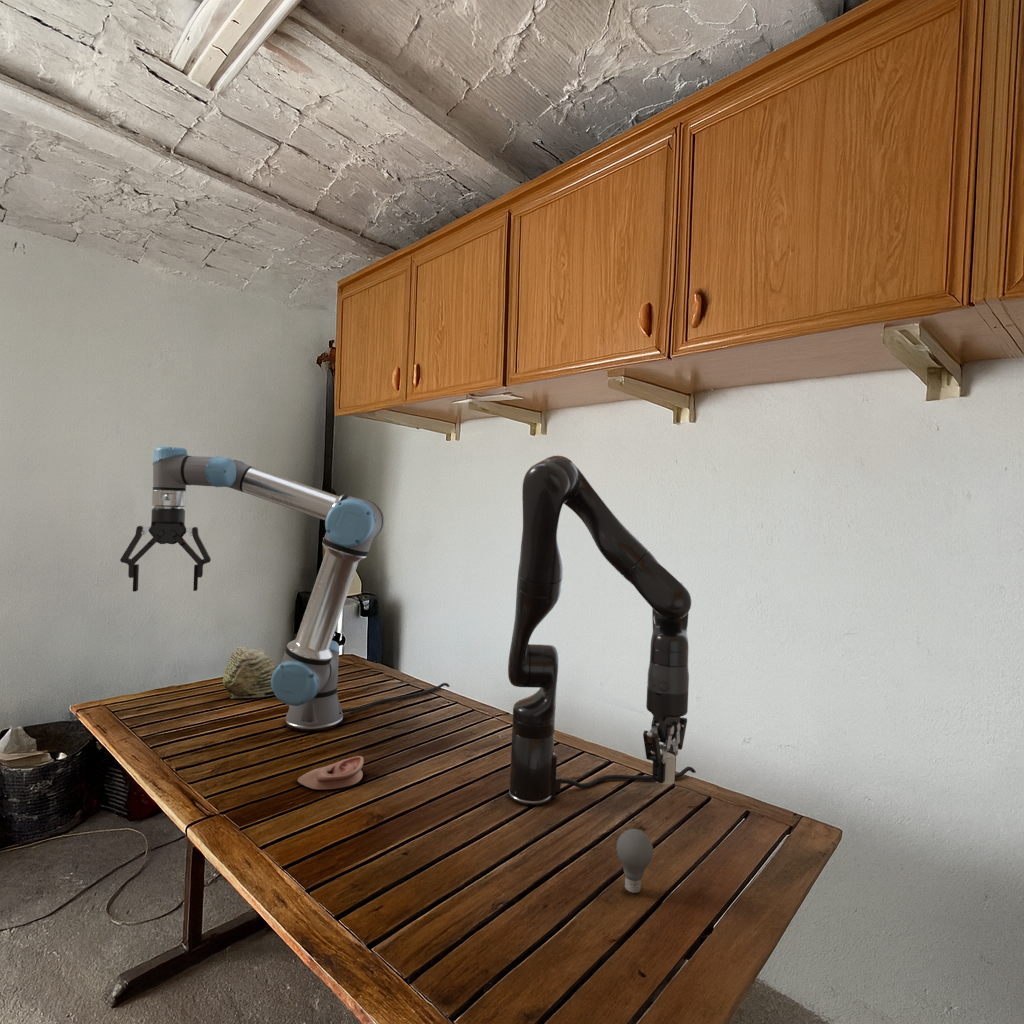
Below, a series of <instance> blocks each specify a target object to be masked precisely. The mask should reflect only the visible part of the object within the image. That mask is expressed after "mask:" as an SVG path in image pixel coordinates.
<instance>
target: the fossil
mask: <svg viewBox="0 0 1024 1024" xmlns="http://www.w3.org/2000/svg"><path fill="white" fill-rule="evenodd" d="M276 668H277V665H276V663H275V662H274V660H273V659H272V658H271V657H270V656H269V655H268V654H267V653H266V652H265V650H264V649H263V648H260V647H258V648H251V647H247V646H246V647H245V646H238V647H237V648H236V649H235V650H233V651H232V653H231V656H230V657H229V659H228V660H227V663H226V666H225V668H224V671H223V675H222V676H223V677H222V685H223V687H224V688H225V690H226V691H228V693H229V698H230V699H250V698H264V697H271V696H275V694H274V692H273V691H272V688H271V677H272V674H273V672H274V671H275V669H276Z"/></svg>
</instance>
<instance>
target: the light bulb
mask: <svg viewBox="0 0 1024 1024" xmlns="http://www.w3.org/2000/svg"><path fill="white" fill-rule="evenodd" d="M615 849H616V854H617V857H618V859H619V861H620V863H621V865H622V867H623V873H624V874H623V875H624V876H625V878H624V888H625V890H627V891H628V892H630V893H634V894H635V893H639V892H640V891H641V889H642V887H641V886H642V879H643V877H644V875H645V871H646V868H647V867H648V866H649V864H650V863H651V861H652V859H653V855H654V847H653V843H652V841H651V838H649V836H648V835H647V834H646V833H645V832H643V831H642V830H641V829H636V828H629V829H627V830H625V831H623V832H622V833H621V834H620V835H619V837H618V839H617V841H616V847H615Z"/></svg>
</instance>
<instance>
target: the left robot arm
mask: <svg viewBox="0 0 1024 1024" xmlns="http://www.w3.org/2000/svg"><path fill="white" fill-rule="evenodd" d="M153 452H154V453H153V461H152V490H151V491H152V492H151V493H152V494H151V505H152V506H153V508H152V509H151V516H150V517H151V519H150V520H151V522H150V526H144V525H138V526H136V528H135V535H134V536H133V538H132V539H131V541H130V543H129V545H128V546H127V548H125V551H124V553H123V554H122V556H121V558H120V559H119V561H120V563H122V564H127V565H128V571H127V572H128V573H127V576H128V578H129V579H132V592H134V593H135V592H137V591H139V576H140V575H139V574H140V573H139V572H140V570H139V569H140V568H139V567H140V564H136V563H137V562H138V561H139V560H140V559H141V558H142V557H143V556H144V555H145V554H146V553H147V552H149V550H150V549H151V548H153V546H154V545H155V544H159V545H168V544H169V545H175V544H176V545H177V544H178V545H179V546H180V547H181V548H182V549H183V550H184V551H185V552H186V553H187V554H188V555H189V556H190V558H191V559H192V560H193V561H194V562H195V563H196V564H194V565H193V586H192V587H193V590H192V591H193V592H196V591H198V587H199V585H198V584H199V578H202V577H203V574H204V565H206V564H209V563H210V562H211V561H212V559H211V557H210V555H209V552H208V551H207V549H206V547H205V545H204V543H203V541H202V539H201V537H200V535H199V527H198V526H193V527H186V510H185V508H184V507H186V500H187V499H186V498H187V491H186V490H187V486H199V487H200V486H201V487H215V488H230V489H232V490H235V491H238V492H241V493H245V494H248V495H250V496H254V497H256V498H259V499H262V500H264V501H268V502H271V503H274V504H277V505H279V506H283V507H285V508H288V509H291V510H293V511H296V512H299V513H302V514H304V515H308V516H310V517H314V518H317V519H320V520H323V521H324V526H325V534H324V537H323V539H322V543H321V544H322V546H323V548H324V550H325V553H324V556H323V559H322V562H321V565H320V568H319V570H318V574H317V576H316V579H315V582H314V585H313V588H312V590H311V593H310V596H309V599H308V603H307V605H306V609H305V611H304V613H303V616H302V620H301V622H300V626H299V629H298V632H297V635H296V637H295V639H293V640H291V641H289V642H288V643H287V645H286V648H285V651H284V653H283V656H282V659H281V661H280V664H278V665H276V669H275V671H274V672H273V674H272V677H271V688H272V691H273V692H274V694H275V695H274V696H275V697H276V698H277V700H279V701H280V702H281V703H283V704H284V705H287V706H288V711H287V713H286V715H285V726H286V728H287V729H289V730H291V731H294V732H295V731H296V732H301V733H316V732H325V731H329V730H332V729H335V728H337V727H339V726H340V725H342V723H343V722H344V714H343V713H348V712H356V711H360V710H364V709H368V708H370V707H373V706H376V705H378V704H383V703H388V702H393V701H399V700H400V701H401V700H403V699H409V698H413V697H417V696H423V695H425V694H428V693H431V692H434V691H437V690H439V689H441V688H442V687H446V688H450V687H451V685H450V684H449V683H447V682H443V683H441V684H439V685H437V686H435V687H432V688H429V689H426V690H423V691H419V692H415V693H411V694H405V695H400V696H395V697H389V698H388V697H387V698H384V699H379V700H375V701H372V702H370V703H367V704H364V705H361V706H357V707H348V708H342V706H341V702H340V699H339V695H338V682H339V662H340V661H339V660H340V659H339V657H340V645H339V643H338V642H337V641H335V640H333V638H334V634H335V632H336V628H337V626H338V623H339V620H340V617H341V615H342V612H343V609H344V606H345V603H346V600H347V597H348V594H349V591H350V589H351V586H352V582H353V579H354V576H355V574H356V571H357V567H358V565H359V562H360V561H362V560H364V559H366V558H367V557H368V554H369V551H370V548H371V545H372V542H373V540H374V539H375V538H377V537H378V536H379V535H380V534H381V533H382V531H383V528H384V525H385V516H384V512H383V511H382V509H381V507H380V506H379V505H378V504H377V503H376V502H375V501H371V500H370V499H365V498H358V497H354V496H351V495H348V494H345V493H344V494H341V495H336V494H333V493H330V492H328V491H325V490H322V489H319V488H316V487H313V486H310V485H307V484H304V483H301V482H299V481H296V480H292V479H290V478H287V477H284V476H281V475H278V474H275V473H272V472H269V471H267V470H264V469H260V468H258V467H255V466H252V465H249V464H247V463H246V462H243V461H241V460H238V459H232V458H230V457H224V456H198V455H196V456H195V455H194V456H193V455H189V454H188V450H187V449H186V448H184V447H176V446H157V447H156V448H155V449H154V451H153ZM147 532H149V534H150V536H151V537H152V538H151V539H149V541H148V542H147V543H146V544H145V545H144V546H143V547H142V548H141V549H140V550H139V551H138V552H137V553H136V554H135V555H134V556H133V557H132V558H130V557H131V555H132V554H133V552H134V551H135V549H136V547H137V545H138V543H139V542H140V540H141V538H142V537H143V536H144V535H146V534H147ZM186 533H188V535H189V536H190V537H192V538H193V540H194V543H195V544H196V546H197V548H198V550H199V552H200V554H201V556H202V558H201V557H200V556H199V555H198V553H197V552H196V551H195V550H194V549H193V548H192V547H191V546H190V545H189V544H188V542H187V541H186V540H185V539H184V537H185V535H186Z"/></svg>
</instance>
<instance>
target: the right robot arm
mask: <svg viewBox="0 0 1024 1024" xmlns="http://www.w3.org/2000/svg"><path fill="white" fill-rule="evenodd" d="M521 489H522V490H521V491H522V492H521V493H522V495H521V496H522V498H521V499H522V533H521V542H520V554H519V563H518V569H517V572H518V573H517V580H516V581H517V582H516V594H515V595H516V598H515V612H514V623H513V629H512V635H511V641H510V648H509V655H508V662H507V676H508V681H509V682H510V685H512V686H513V687H516V688H539V689H538V690H537V691H535V693H533V694H531V695H529V696H527V697H524V698H521V699H519V700H517V701H516V702H515V703H514V704H513V708H512V726H511V747H510V748H511V751H510V773H509V786H508V787H509V788H508V797H509V798H510V799H511V800H512V801H513V802H515V803H518V804H520V805H525V806H541V805H545V804H547V803H549V802H550V801H551V800H555V799H556V793H559V792H561V787H562V784H567V785H572V786H574V787H576V788H580V789H585V788H591V787H593V786H594V785H596V784H598V783H600V782H603V781H608V780H630V781H653V782H655V783H657V782H658V783H657V784H659V783H663V782H664V781H665V766H666V763H665V761H666V754H667V752H669V753H672V754H673V755H675V772H677V771H676V770H677V769H676V767H677V756H678V755H679V750H681V751H682V749H683V746H684V741H685V735H686V730H687V725H688V718H687V717H684V716H686V715H687V713H688V710H689V689H690V688H689V687H690V683H689V682H690V672H689V654H690V653H689V652H690V642H689V641H690V639H689V635H688V628H689V614H690V611H691V609H692V604H693V598H692V595H691V592H690V590H689V588H688V587H687V585H686V584H685V583H684V582H682V581H681V580H679V579H677V578H676V577H675V576H674V575H673V574H671V572H670V571H668V569H666V567H664V566H663V565H662V564H661V563H660V561H659V560H658V559H657V557H656V556H655V555H654V553H653V552H651V550H649V549H648V548H647V546H646V545H644V544H643V543H642V542H641V541H640V540H639V539H638V538H637V537H636V536H635V535H634V534H633V533H632V532H631V531H630V530H629V529H628V528H627V527H626V526H625V525H624V524H623V523H622V521H621V520H620V519H619V518H618V517H617V516H616V515H615V514H614V513H613V511H612V510H611V509H610V508H609V507H608V505H607V504H606V503H605V502H604V500H603V499H602V498H601V496H600V495H599V494H598V492H597V491H596V490H595V488H593V486H592V485H591V484H590V482H589V481H588V479H587V478H586V477H585V475H584V474H583V472H582V471H581V470H580V468H579V467H578V466H577V465H576V464H575V463H574V462H573V461H572V460H571V459H569V458H568V457H566V456H563V455H551V456H549V457H546V458H544V459H543V460H541V461H539V462H537V463H535V464H533V465H531V466H530V468H529V469H527V471H526V473H525V474H524V477H523V481H522V488H521ZM563 505H565V506H566V507H567V508H568V509H570V510H571V511H572V512H573V513H574V514H575V515H576V516H577V517H578V518H579V519H580V521H582V523H583V525H584V526H585V527H586V529H587V531H588V532H589V534H590V535H591V536H590V537H591V538H592V540H593V542H594V544H595V546H596V548H597V549H598V551H599V552H600V553H601V555H602V557H603V558H604V559H605V560H606V562H608V563H609V564H610V565H611V566H612V567H613V568H614V570H616V571H617V572H618V574H620V576H622V578H624V579H625V581H627V582H628V583H629V584H630V585H632V586H633V587H634V588H635V590H636V591H637V592H638V593H639V594H640V596H641V597H642V598H643V599H644V600H645V602H647V604H648V605H649V606H650V608H651V611H652V614H651V615H652V617H651V618H652V631H651V636H650V644H649V663H648V669H647V681H646V683H647V684H646V707H645V708H646V710H647V711H648V712H649V713H650V714H651V715H652V720H651V728H650V729H649V730H644V731H643V733H642V737H643V744H644V752H645V758H646V760H648V761H652V775H633V774H606V775H601V776H599V777H597V778H595V779H593V780H591V781H589V782H584V783H581V782H578V781H576V780H573V779H568V778H561V777H560V776H558V774H557V765H558V755H557V754H556V753H555V752H554V749H555V747H554V746H555V729H556V728H555V727H556V726H555V725H556V724H555V723H556V709H557V708H556V707H557V694H558V692H557V691H558V683H559V682H558V681H559V672H560V671H559V670H560V654H559V651H558V649H557V646H556V645H554V644H548V643H529V642H530V640H531V637H532V636H533V634H534V632H535V630H536V629H537V628H538V627H539V625H540V624H541V623H542V622H543V621H544V620H545V619H546V618H547V617H548V616H549V614H550V613H551V612H552V611H553V609H554V608H555V607H556V606H557V604H558V602H559V601H560V599H561V595H562V589H563V581H564V570H565V569H564V559H563V556H562V553H561V549H560V546H559V541H558V530H559V522H560V517H561V512H562V508H563ZM661 752H662V753H661ZM687 772H691V773H692V774H695V773H697V771H696V770H695V769H694V768H693V767H692V766H686V767H685V768H683V769H682V770H681V771H679V772H677V773H675V779H679V778H681V777H683V776H684V775H685V774H686V773H687Z"/></svg>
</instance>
